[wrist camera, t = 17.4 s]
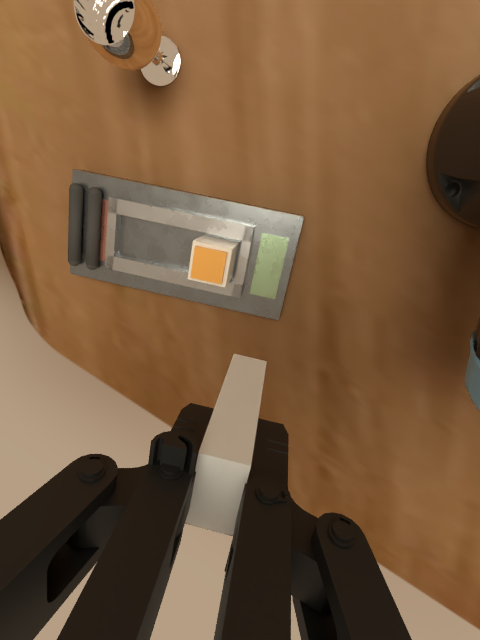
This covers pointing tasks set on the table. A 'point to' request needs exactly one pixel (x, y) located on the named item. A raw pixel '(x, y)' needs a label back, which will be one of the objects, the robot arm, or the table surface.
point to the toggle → (212, 260)
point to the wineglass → (130, 37)
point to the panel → (188, 243)
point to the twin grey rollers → (76, 226)
